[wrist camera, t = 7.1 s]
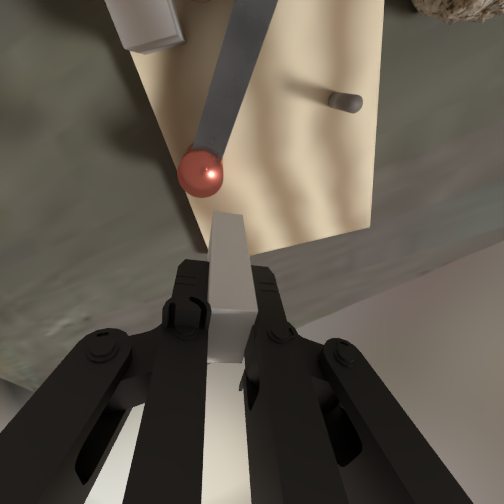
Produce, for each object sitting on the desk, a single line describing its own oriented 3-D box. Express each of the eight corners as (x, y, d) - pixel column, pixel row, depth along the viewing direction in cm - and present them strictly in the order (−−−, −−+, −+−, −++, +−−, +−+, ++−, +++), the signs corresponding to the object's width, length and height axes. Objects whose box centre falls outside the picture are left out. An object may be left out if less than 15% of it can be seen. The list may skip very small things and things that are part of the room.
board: (381, -247, 14) (491, -468, 8) (362, 219, 31) (393, 251, 26) (61, -144, 15) (-38, -281, 9) (214, 254, 32) (212, 293, 26)
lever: (305, -61, 16) (327, -98, 13) (215, 186, 25) (214, 203, 21) (254, -100, 15) (263, -152, 12) (179, 172, 24) (172, 188, 20)
